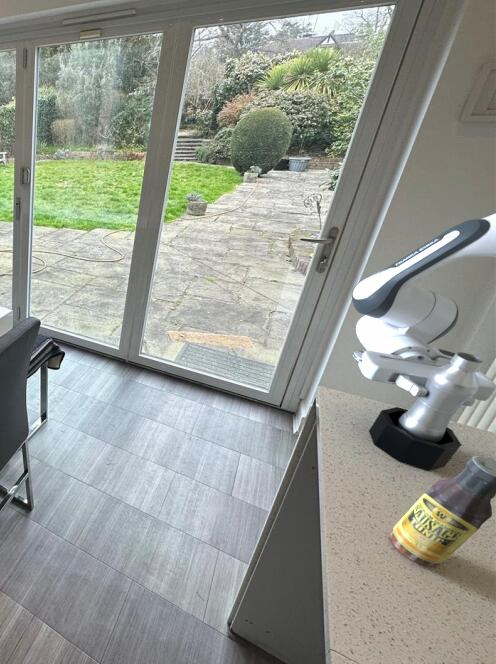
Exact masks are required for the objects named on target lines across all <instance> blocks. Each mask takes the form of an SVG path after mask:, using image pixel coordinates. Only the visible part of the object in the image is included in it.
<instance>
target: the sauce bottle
mask: <svg viewBox="0 0 496 664" xmlns="http://www.w3.org/2000/svg"><path fill="white" fill-rule="evenodd" d="M465 464H466V466H465V467H464V468H463V470H461V471H460V472H459V473H458V474H456V475H455V476H452V477H448V478H443V479H439V480H437V481H435V483H434V484H433V485H432V486H431V487H430V488H429V489H428V490H427V491H425V492H424V493H423V494H422V495H421V496H420V497H419V499H417V501H416V502H414V504H413V505H412V506H411V507H410V509H408V510H407V512H406V513H405V514H404V515H403V516H402V517H401V518H400V519H399V520H398V522H397V523H396V524H395V525H394V526H393V529H392V530H391V531H390V533H389V540H390V541H391V543H392V544H393V546H394V547H395V548H396V550H398V552H400V553H401V554H402V556H405V557H406V558H407V559H409V560H411V561H413V562H415V563H416V564H418V565H420V566H423V567H438V566H440V564H442V563H445V562H446V560H448V558H450V557H451V556H452V555H453V554H454V553H455V552H456V551H457V550H458V549H459V548H460V547H461V546H462V545H464V544H465V543H466V542H467V541H468V540H469V539H470V538H471V537H472V536H473V535H475V533H476V532H477V531H478V530H480V528H481V527H482V525H483V524H485V523H486V522H487V521H488V520H489V519H490V518H491V517H492V516H493V512H492V511H493V509H492V503H491V500H492V499H494V498H495V496H496V460H494V459H492V458H489V457H485V456H480V455H474V456H472V457H471V458H470V459H469V460H468V461H467V462H466V463H465Z"/></svg>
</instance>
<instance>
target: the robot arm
mask: <svg viewBox="0 0 496 664" xmlns="http://www.w3.org/2000/svg"><path fill="white" fill-rule="evenodd" d="M469 258H496V212H495V213H493V214H491V215H488V216H485V217H481V218H476V219H475V218H474V219H469V220H465V221H463V222H461V223H459V224H457V225H454V226H452V227H451V228H449V229H447V230H446V231H444V232H442V233H440V234H438V235H437V236H436V237H434V238H432V239H430V240H429V241H427V242H426V243H424V244H423V245H420V246H419V247H418V248H416V249H415V250H413V251H411V252H410V253H408V254H406V255H405V256H403V257H402V258H400V259H398V260H397V261H395V262H394V263H392V264H391V265H389V266H386V267H385V268H383V269H381V270H379V271H377V272H374V273H372V274H370V275H368V276H366V277H364V278H363V279H361V280H359V282H357V284H356V285H355V286H354V287H353V289H352V291H351V301H352V304H353V307H354V309H355V310H356V312H357V313H359V314H362V315H363V316H362V317H360V318H359V319H358V321H357V323H356V326H355V332H356V337H357V339H358V341H359V342H360V344H361V345H362V347H363V348H364V349H365V350H358V351H354V352H352V356H353V358H354V359H355V360H356V361H357V362H358V368H359V370H360V371H361V374H362V376H364V378H366V379H368V380H370V381H373V382H378V383H384V384H390V385H395V386H398V387H400V388H402V389H403V390H405V391H407V392H409V393H410V394H411V395H412V396H414V397H418V398H419V397H423V398H424V397H425V395H426V394H427V392H428V391H427V389H425V384H426V382H427V379H428V377H429V375H430V373H431V372H432V371H433V370H434V369H436V368H438V367H441V366H444V365H447V364H450V363H451V362H450V360H451V358H453V357H454V355H455V354H456V353H457V352H452V351H448V350H445V349H441V348H439V347H436V346H434V345H432V344H431V343H433V342H436V341H437V340H440V339H441V338H443V337H444V336H446V335H447V334H448V333H450V332H451V331H452V330H453V329H454V328H455V326H456V324H457V322H458V320H459V307H458V305H457V303H456V302H455V301H454V300H453V299H451V298H448V297H446V296H443V295H441V294H439V293H436V292H434V291H431V290H429V289H426V288H423V287H421V286H418V285H416V284H415V283H417V282H418V281H420V280H422V279H423V278H426V277H427V276H429V275H431V274H432V273H433V272H435V271H438V270H440V269H441V268H442V267H444V266H446V265H448V264H450V263H453V262H455V261H458V260H463V259H469ZM475 373H476V376H477V378H478V382H479V387H478V391H477V392H476V393H475V394H474V395H473V396H472V397H470V398H469V399H468V400H467V401H466V402H465V403H464V404H463V405H462V406H466V407H473V406H474V404H476V403H475V402H476V401H483V402H486V401H488V400H489V399H490V398H491V397H492V396H493V394H494V393H495V392H496V383H495V382H494V381H493V380H492V379H490V377H488V376H487V375H486V374H485V373H483V372H482V371H481V369H480V370H479V371H478V372H475Z"/></svg>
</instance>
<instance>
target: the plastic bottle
mask: <svg viewBox="0 0 496 664" xmlns="http://www.w3.org/2000/svg"><path fill="white" fill-rule="evenodd" d="M455 353H456V354H455V355H454V357H453V358H451V360H450V362H451V363H450V364H447V365H444V366H441V367H438V368H436V369H434V370H433V371H432V372H431V373H430V375H429V377H428V379H427V382H426V384H425V389H427V391H428V392H427V394H426V395H425V397H424V398H423V397H418V398H417V400H416V401H415V402H413V404H412V405H411V406H410V407H409V408H408V409H407V410H408V411H407V412H405V413H404V414H403V415H402V416H401V417H400V418H399V420H398V423H397V427H399V428H400V429H402V430H403V431H405V432H407V433H408V434H410V435H411V436H413V437H415V438H418V439H421V440H425V441H428V442H431V443H435V444H436V443H437V442H438V441H440V440H441V439H442V437H443V435H444V433H445V430H446V427H448V425H449V424H450V422H451V420H452V418H453V416H454V415H455V414H456V413H457V412H458V410H459V409H460V408H461V407H462V406H464V405H463V404H464V403H465V402H466V401H467V400H468V399H469V398H470V397H472V396H473V395H474V394H475V393H476V392H477V391H478V387H479V382H478V378H477V376H476V373H475V372H478V371H479V370H480V371H481V368H482V366H483V365H484V363H485V361H484V359H482V358H481V357H479V356H477V355H474V354H471V353H468V352H463V351H457V352H455Z"/></svg>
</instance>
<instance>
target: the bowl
mask: <svg viewBox="0 0 496 664" xmlns="http://www.w3.org/2000/svg"><path fill="white" fill-rule="evenodd" d="M408 410H409V409H406V408H403V407H399V406H395V407H391V408H385V409H382V410H381V411H380V413H379V414H378V415H377V417H376V419H375V421H374V422H373V423H372V425H371V427H370V428H369V430H368V433H369V435H370V438H371V440H372V443H373V445H374V446H375V447H376V448H378V449H379V450H381V451H382V452H384V453H386V454H387V455H388V456H389V457H391V458H393V459H395V460H396V461H397V462H398V463H401V464H405V465H407V466H410V467H411V466H412V467H414V468H418V469H420V470H424V471H427V472H430V471H434V470H437V469H440V468H444V467H446V465H447V464H448V463H449V462H450V460H452V458H453V456H454V455H455V454H456V452H457V451H458V450H459V449H460V448H461V446H462V443H461V442H460V440H459V438H458V437H457V436H456V434H455V432H454V431H453V429H451V428H449V427H448V426H447V427H446V430H445V433H444V435H443V437H442V439H441V440H440V441H438V442H437V443H436V444H435V443H431V442H428V441H425V440H421V439H418V438H415V437H413V436H411V435H410V434H408V433H407V432H405V431H403V430H402V429H400V428H399V427H397V423H398V420H399V418H400V417H401V416H402V415H403V414H404V413H405V412H407V411H408Z"/></svg>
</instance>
